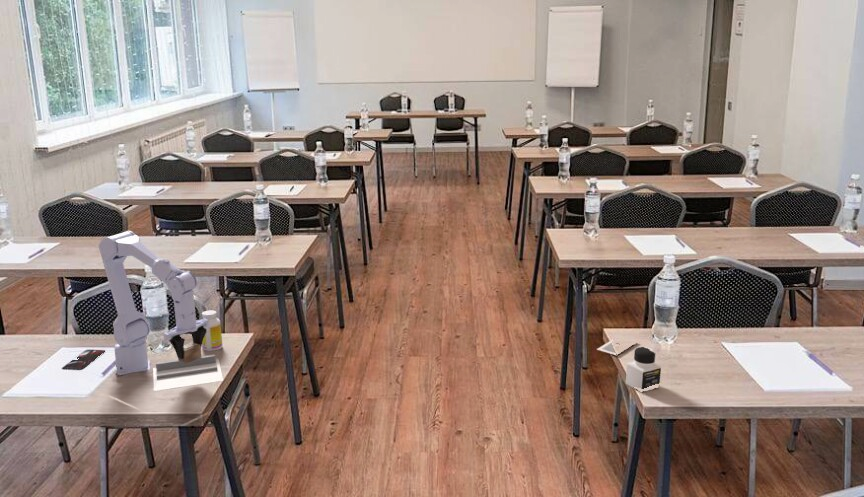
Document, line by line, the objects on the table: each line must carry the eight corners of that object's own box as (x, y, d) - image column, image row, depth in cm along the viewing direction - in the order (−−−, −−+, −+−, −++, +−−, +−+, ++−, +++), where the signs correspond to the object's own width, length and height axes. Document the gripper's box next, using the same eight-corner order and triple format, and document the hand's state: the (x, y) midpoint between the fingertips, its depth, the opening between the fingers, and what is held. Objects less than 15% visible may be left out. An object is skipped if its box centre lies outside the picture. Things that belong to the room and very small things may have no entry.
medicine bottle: (641, 393, 221) (644, 356, 217) (625, 384, 227) (627, 347, 224) (659, 388, 224) (663, 351, 221) (642, 379, 230) (646, 343, 227)
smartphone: (60, 368, 237) (86, 349, 252) (60, 370, 238) (86, 351, 252) (82, 369, 237) (106, 350, 251) (82, 371, 237) (107, 351, 251)
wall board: (154, 392, 222) (152, 381, 221) (153, 369, 237) (152, 359, 236) (223, 382, 228) (222, 371, 227) (218, 360, 244) (217, 350, 243)
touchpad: (596, 352, 250) (596, 346, 250) (617, 339, 261) (618, 333, 261) (617, 358, 246) (617, 352, 245) (638, 345, 256) (639, 339, 256)
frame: (186, 363, 224) (185, 350, 222) (178, 360, 226) (177, 346, 224) (201, 357, 228) (200, 344, 227) (193, 354, 230) (192, 341, 229)
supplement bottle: (225, 344, 256) (222, 309, 252) (218, 352, 250) (215, 316, 246) (206, 343, 257) (203, 308, 253) (199, 351, 250) (195, 315, 247)
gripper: (172, 322, 215) (177, 366, 219) (213, 308, 226) (217, 349, 230) (157, 317, 219) (162, 360, 223) (198, 303, 230) (202, 344, 234)
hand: (189, 354), depth 226 cm, fingers closed on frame, 5 cm apart
